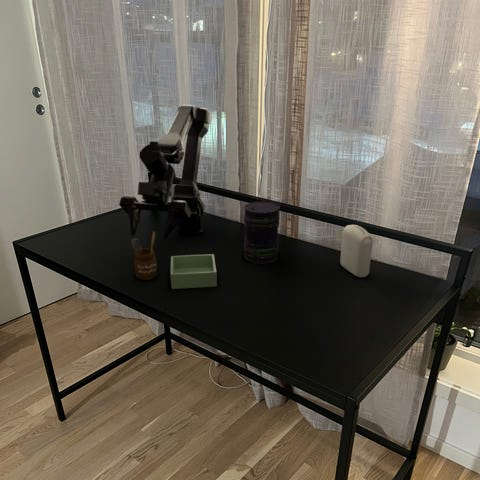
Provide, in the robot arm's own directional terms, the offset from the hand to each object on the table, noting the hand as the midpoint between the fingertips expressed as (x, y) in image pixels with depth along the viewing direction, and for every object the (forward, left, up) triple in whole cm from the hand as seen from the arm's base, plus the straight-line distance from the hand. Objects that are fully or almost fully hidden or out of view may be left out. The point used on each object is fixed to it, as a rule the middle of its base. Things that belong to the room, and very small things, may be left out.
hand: (148, 236), depth 136 cm
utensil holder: (+2, +2, -10) cm, 11 cm away
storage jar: (-32, +4, -10) cm, 33 cm away
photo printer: (-51, +23, -10) cm, 56 cm away
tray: (-9, +9, -10) cm, 16 cm away
